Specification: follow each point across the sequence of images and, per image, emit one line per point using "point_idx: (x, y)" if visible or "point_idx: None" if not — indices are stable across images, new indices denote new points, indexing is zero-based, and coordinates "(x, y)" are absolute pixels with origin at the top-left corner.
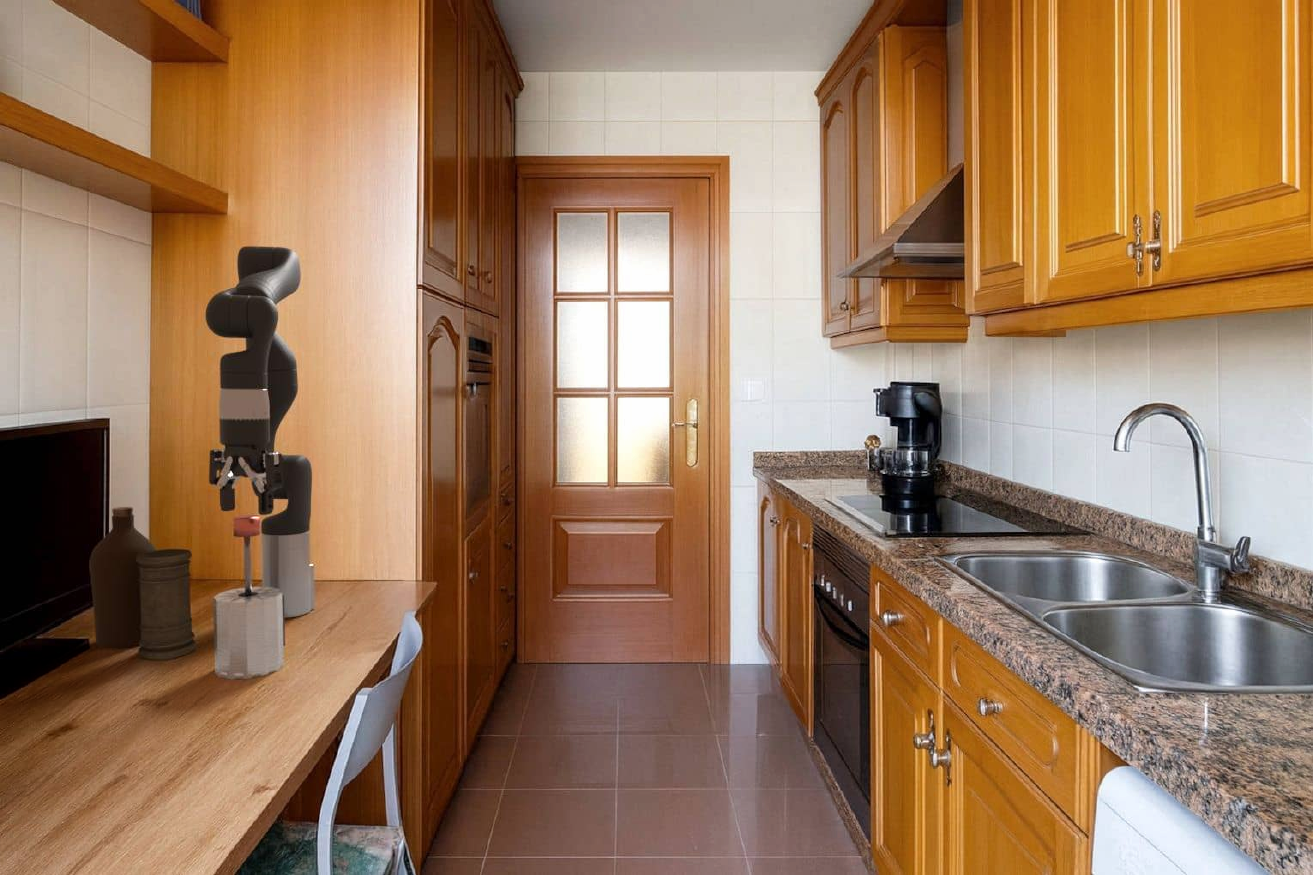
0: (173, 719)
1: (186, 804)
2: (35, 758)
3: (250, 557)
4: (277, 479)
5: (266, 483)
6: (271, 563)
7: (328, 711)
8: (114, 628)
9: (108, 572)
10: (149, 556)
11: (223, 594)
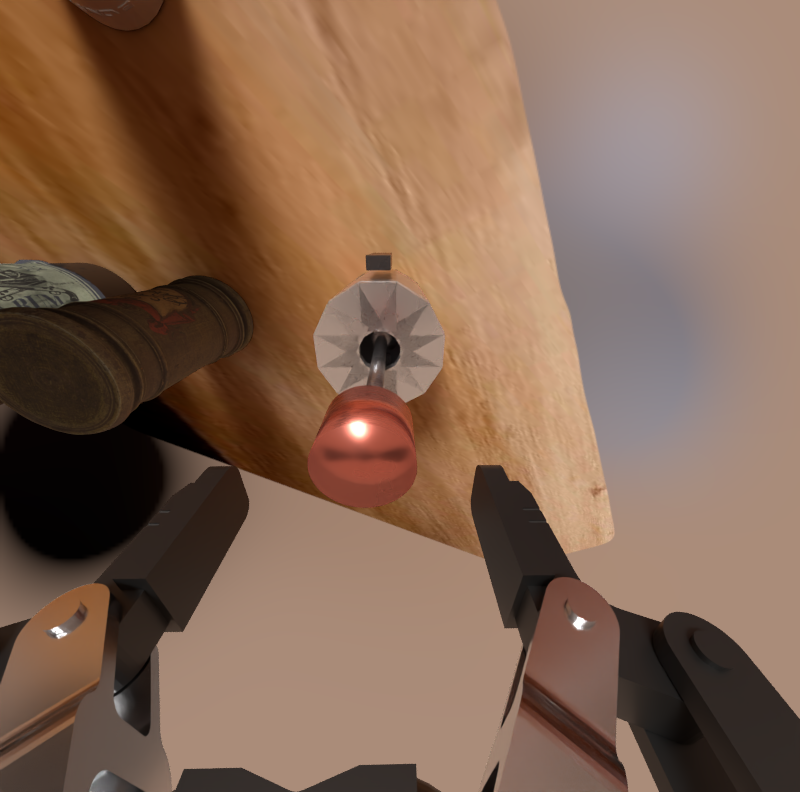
0: (435, 447)
1: (557, 516)
2: (401, 517)
3: (382, 384)
4: (728, 735)
5: (634, 732)
6: None
7: (575, 378)
8: None
9: (1, 403)
10: (73, 419)
11: (336, 373)
